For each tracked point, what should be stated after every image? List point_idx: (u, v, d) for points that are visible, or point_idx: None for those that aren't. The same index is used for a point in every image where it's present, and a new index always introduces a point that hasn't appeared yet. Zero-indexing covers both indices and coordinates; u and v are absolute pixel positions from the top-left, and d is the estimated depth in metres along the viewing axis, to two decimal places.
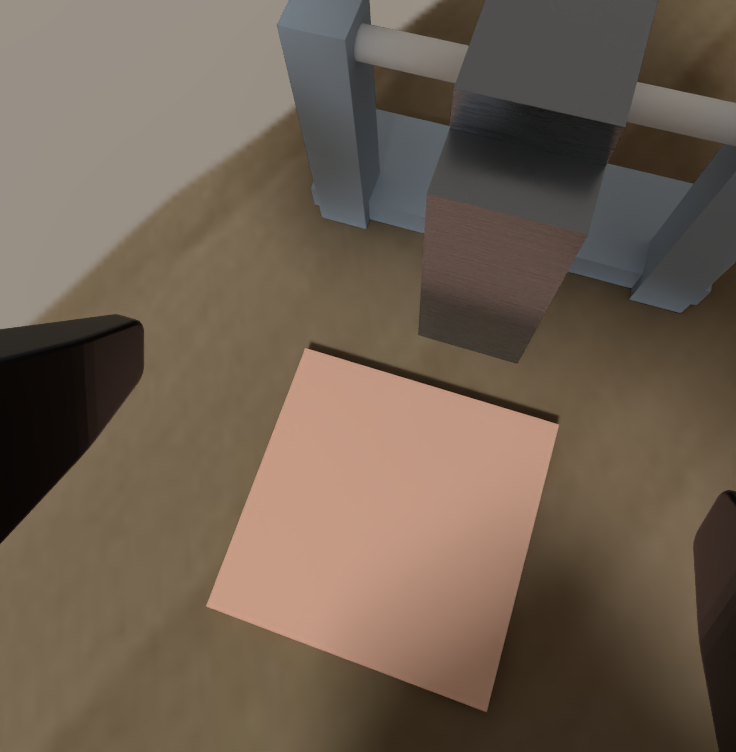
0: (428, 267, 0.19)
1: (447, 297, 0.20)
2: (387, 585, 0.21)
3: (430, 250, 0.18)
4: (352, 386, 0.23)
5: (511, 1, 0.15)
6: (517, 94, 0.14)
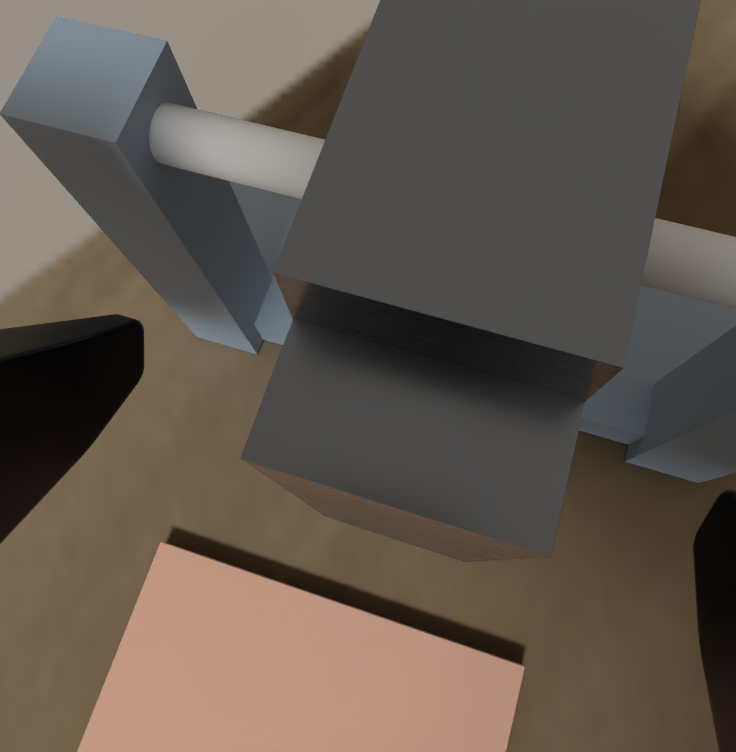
0: (299, 495, 0.11)
1: (344, 514, 0.13)
2: None
3: (291, 489, 0.10)
4: (224, 603, 0.16)
5: (398, 85, 0.08)
6: (401, 288, 0.07)
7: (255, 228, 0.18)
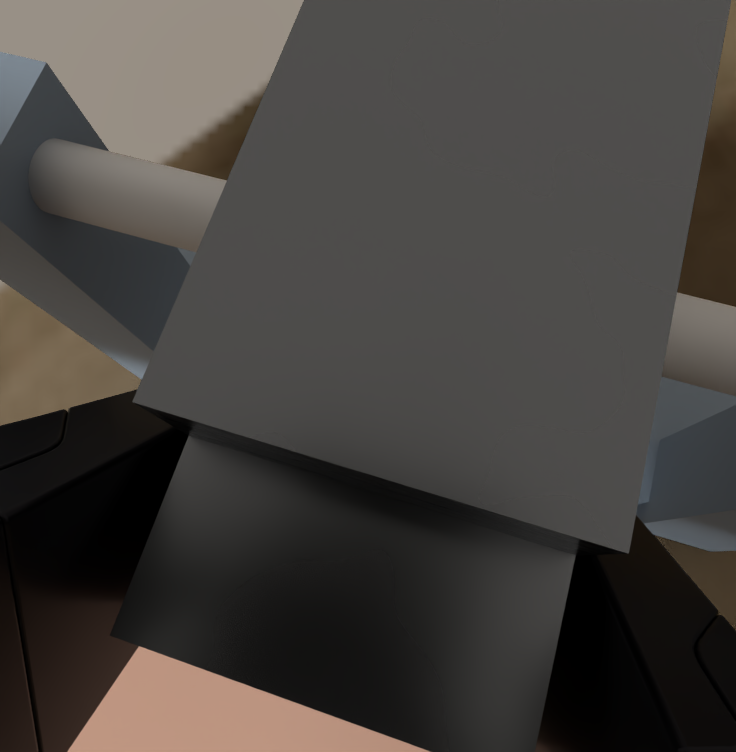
0: None
1: None
2: None
3: None
4: (169, 695, 0.14)
5: (318, 130, 0.06)
6: (312, 427, 0.05)
7: None
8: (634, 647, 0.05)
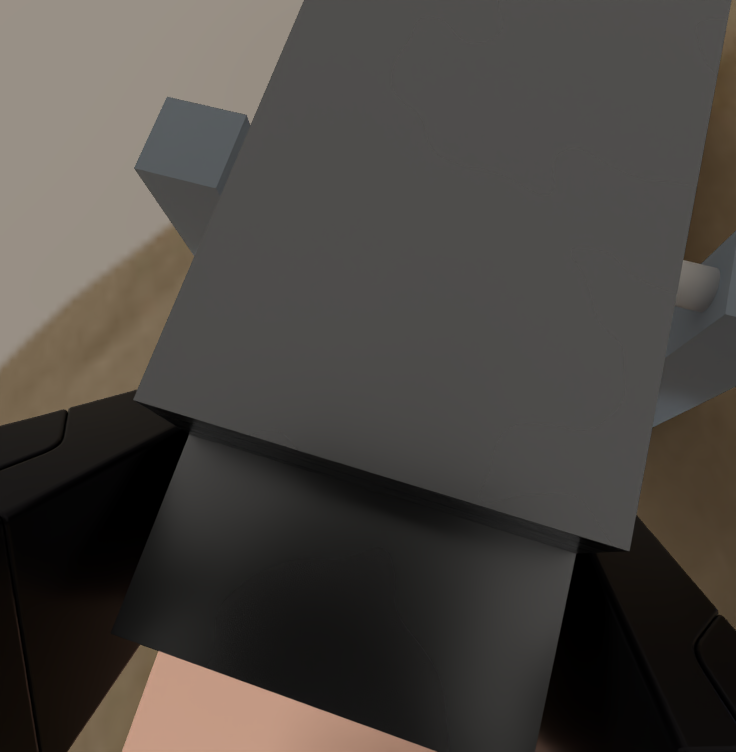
0: None
1: None
2: None
3: None
4: None
5: (318, 128, 0.06)
6: (313, 425, 0.05)
7: None
8: (634, 647, 0.05)
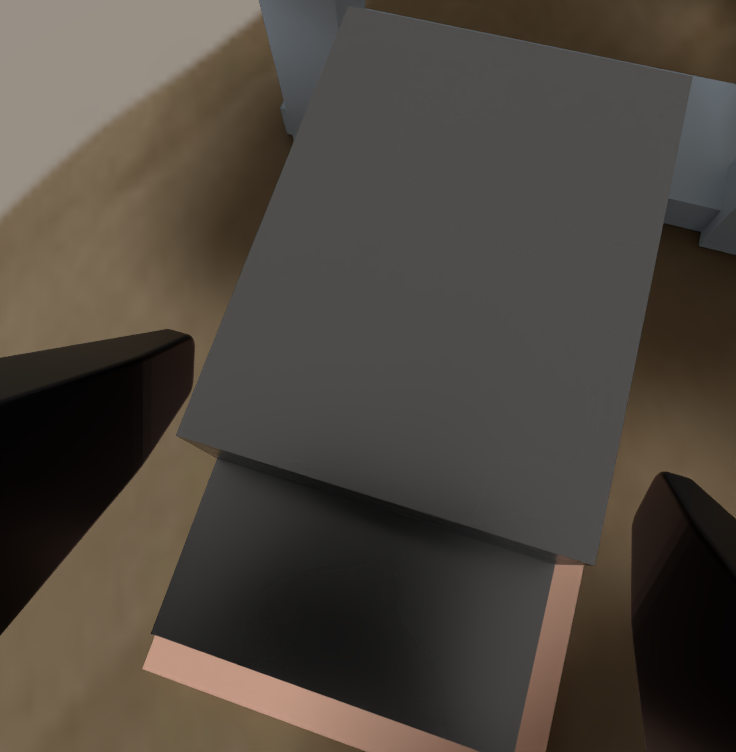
0: None
1: None
2: None
3: None
4: None
5: (332, 196, 0.07)
6: (329, 457, 0.06)
7: None
8: None
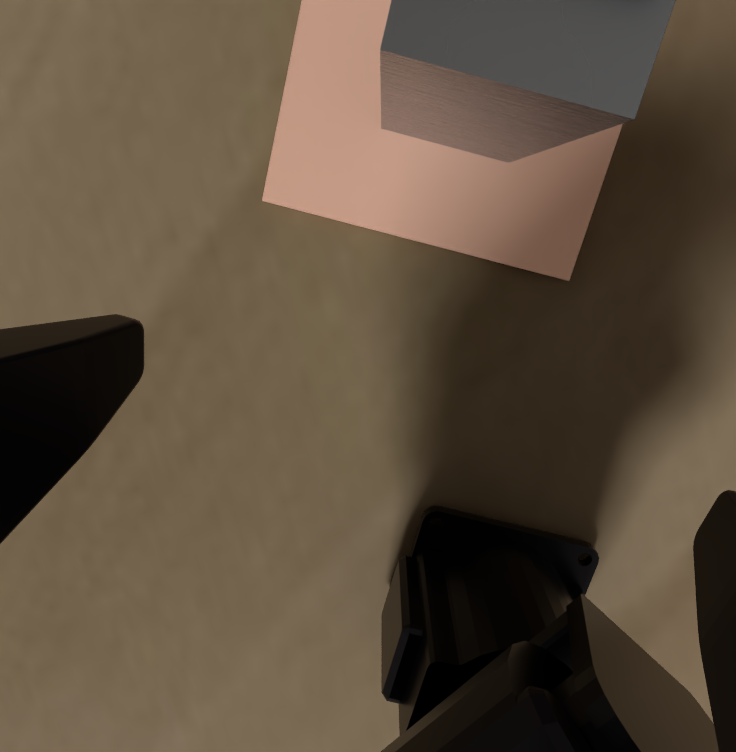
0: (389, 96, 0.13)
1: (418, 116, 0.14)
2: (465, 160, 0.19)
3: (391, 87, 0.12)
4: None
5: None
6: None
7: None
8: None
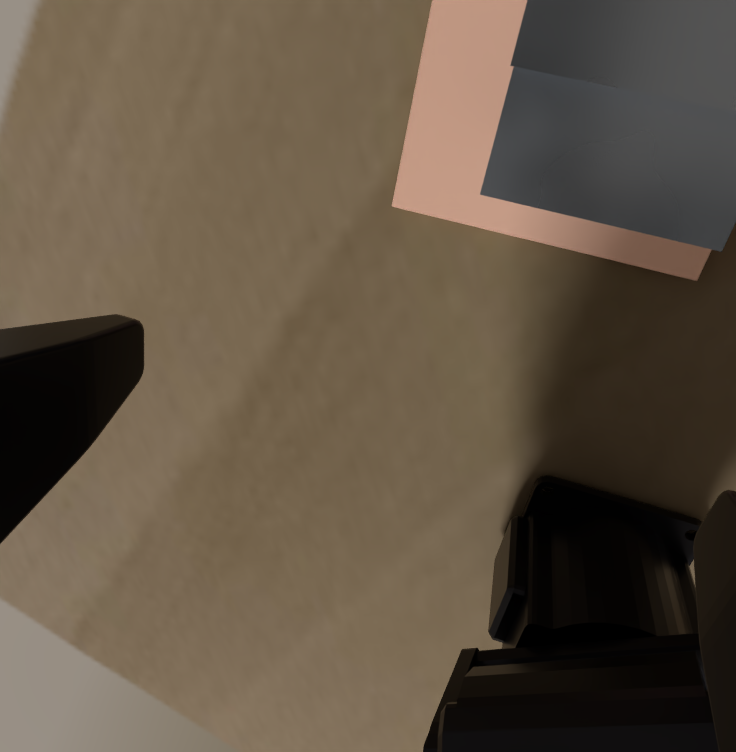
0: None
1: None
2: None
3: None
4: None
5: None
6: (628, 69, 0.08)
7: None
8: None
